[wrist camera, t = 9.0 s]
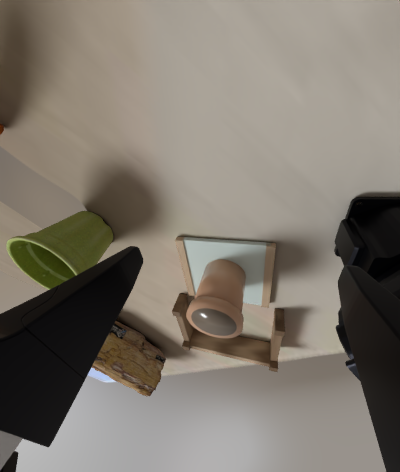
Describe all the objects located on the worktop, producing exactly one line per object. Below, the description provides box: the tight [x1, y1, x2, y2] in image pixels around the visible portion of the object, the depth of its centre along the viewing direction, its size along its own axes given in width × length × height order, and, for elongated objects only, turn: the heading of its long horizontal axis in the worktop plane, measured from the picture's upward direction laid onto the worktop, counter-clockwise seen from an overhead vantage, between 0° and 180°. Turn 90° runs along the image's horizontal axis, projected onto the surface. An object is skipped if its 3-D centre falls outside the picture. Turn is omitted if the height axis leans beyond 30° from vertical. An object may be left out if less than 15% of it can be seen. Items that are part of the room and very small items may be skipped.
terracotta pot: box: [186, 259, 246, 338], centre depth 24 cm, size 6×6×7 cm
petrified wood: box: [92, 321, 166, 396], centre depth 48 cm, size 19×13×10 cm
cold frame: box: [172, 294, 285, 372], centre depth 33 cm, size 16×11×4 cm
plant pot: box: [6, 211, 113, 290], centre depth 26 cm, size 9×9×9 cm
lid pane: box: [175, 237, 276, 308], centre depth 27 cm, size 12×11×1 cm
